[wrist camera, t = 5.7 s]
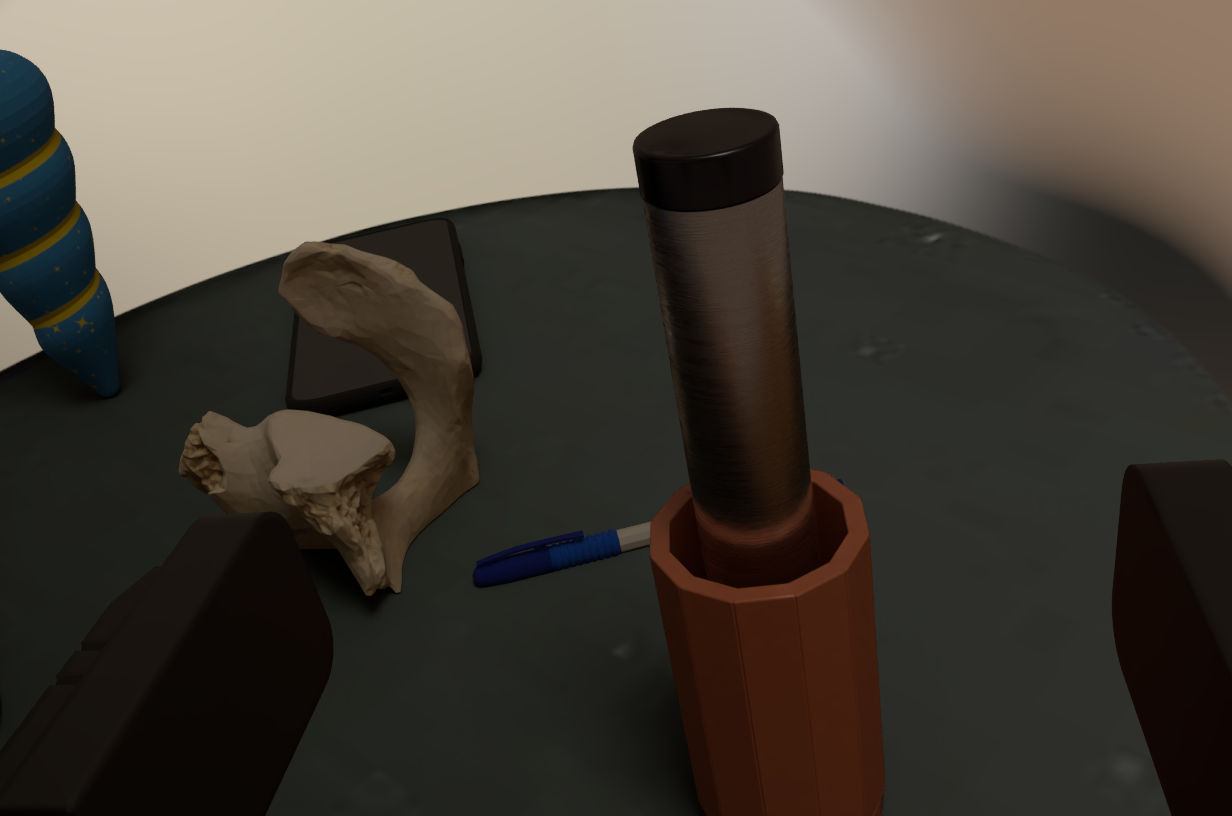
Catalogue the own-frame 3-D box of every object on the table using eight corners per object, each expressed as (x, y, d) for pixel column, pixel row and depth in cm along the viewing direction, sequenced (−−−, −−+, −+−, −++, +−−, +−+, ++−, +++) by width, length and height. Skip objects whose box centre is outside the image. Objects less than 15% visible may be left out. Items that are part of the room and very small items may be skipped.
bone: (181, 656, 27) (94, 259, 27) (231, 616, 33) (161, 295, 33) (523, 573, 28) (440, 196, 28) (507, 551, 34) (440, 242, 34)
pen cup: (767, 908, 20) (722, 634, 17) (669, 775, 23) (613, 517, 20) (923, 811, 21) (913, 535, 18) (811, 696, 24) (782, 439, 21)
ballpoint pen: (478, 601, 29) (469, 573, 29) (475, 580, 30) (467, 553, 30) (847, 501, 30) (844, 472, 30) (834, 484, 31) (832, 455, 31)
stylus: (776, 837, 21) (677, 169, 14) (719, 767, 23) (606, 137, 16) (861, 786, 22) (808, 123, 15) (800, 721, 23) (726, 97, 16)
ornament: (169, 350, 46) (7, -17, 39) (185, 398, 42) (7, -1, 34) (43, 394, 45) (-153, 21, 37) (47, 448, 41) (-173, 42, 33)
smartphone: (278, 410, 38) (298, 248, 51) (287, 432, 39) (304, 266, 51) (484, 360, 39) (452, 211, 51) (490, 381, 39) (457, 229, 52)
